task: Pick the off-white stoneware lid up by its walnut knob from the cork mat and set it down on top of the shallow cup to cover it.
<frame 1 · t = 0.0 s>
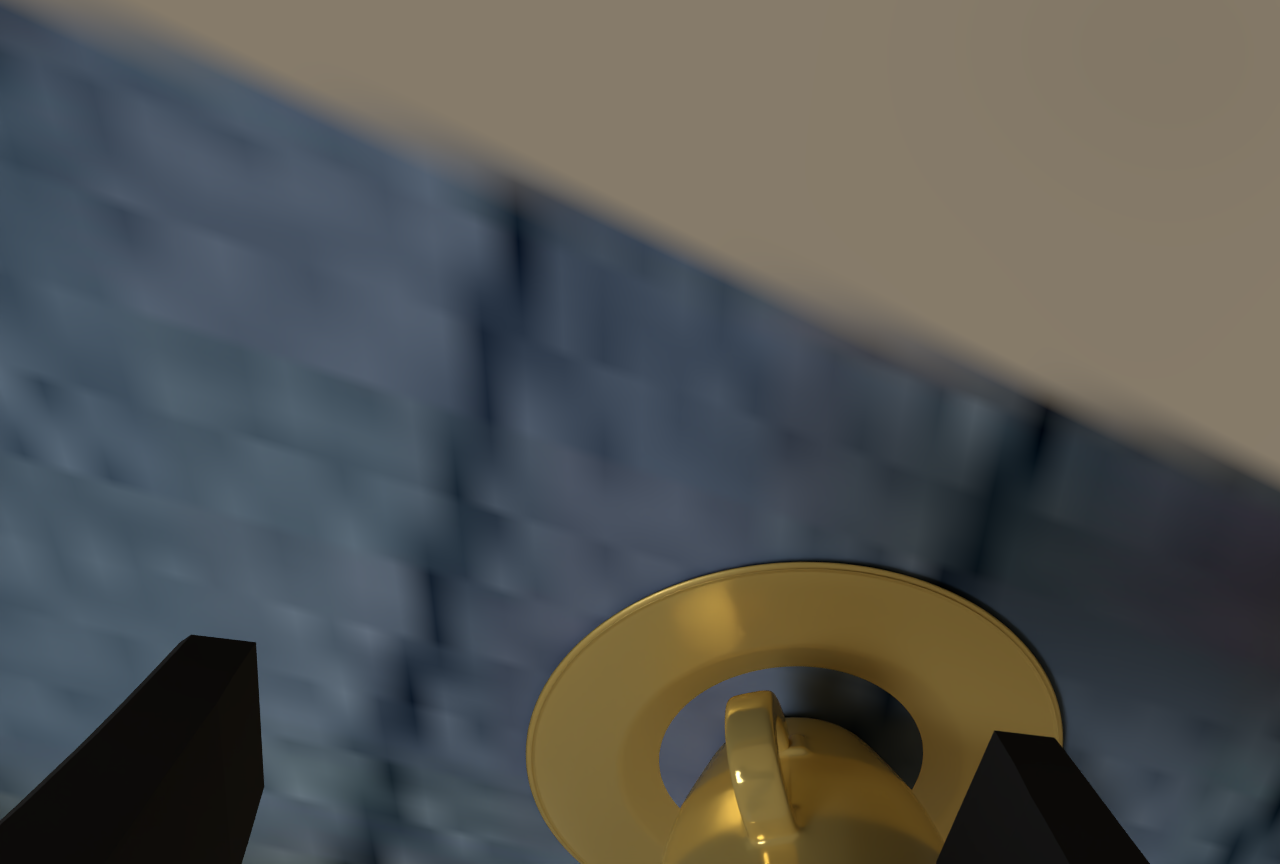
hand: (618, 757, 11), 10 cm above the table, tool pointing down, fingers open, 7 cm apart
cup: (788, 747, 26), on the table
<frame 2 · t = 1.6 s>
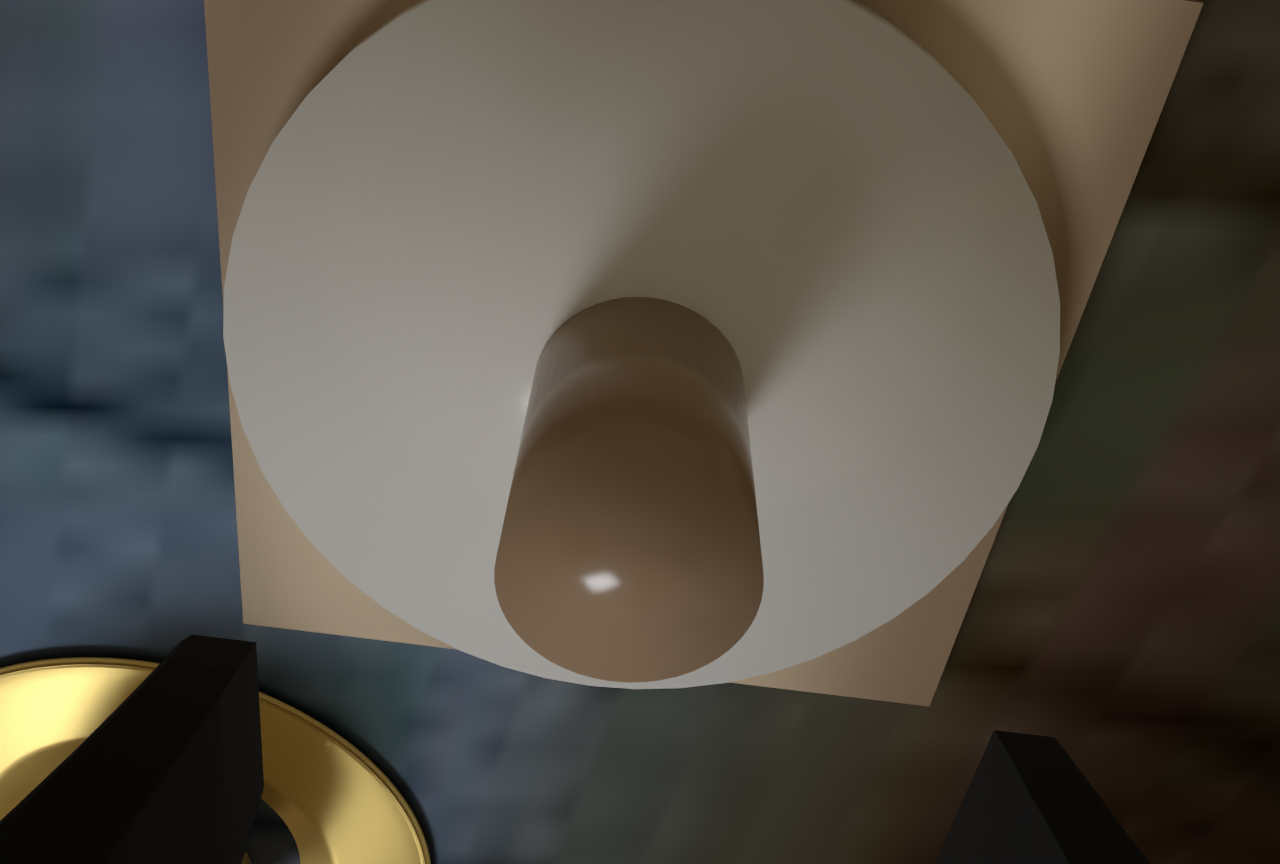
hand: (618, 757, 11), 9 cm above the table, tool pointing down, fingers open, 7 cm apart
lid: (639, 366, 18), point 1 cm above the table, touching mat
mat: (640, 349, 19), on the table
cup: (174, 831, 26), on the table
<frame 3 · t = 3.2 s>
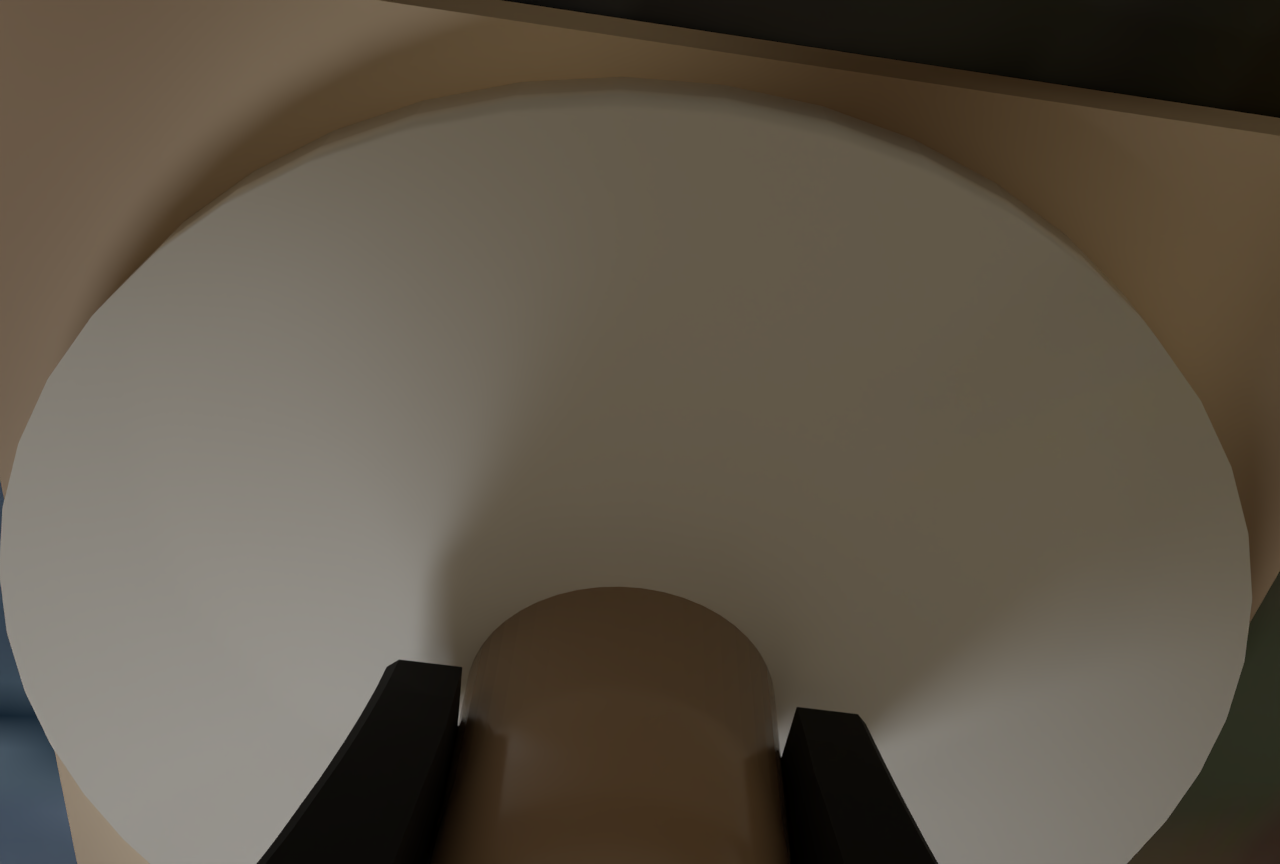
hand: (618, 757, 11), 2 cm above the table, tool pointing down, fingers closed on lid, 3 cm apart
lid: (623, 650, 13), point 1 cm above the table, touching gripper, mat
mat: (625, 614, 13), on the table
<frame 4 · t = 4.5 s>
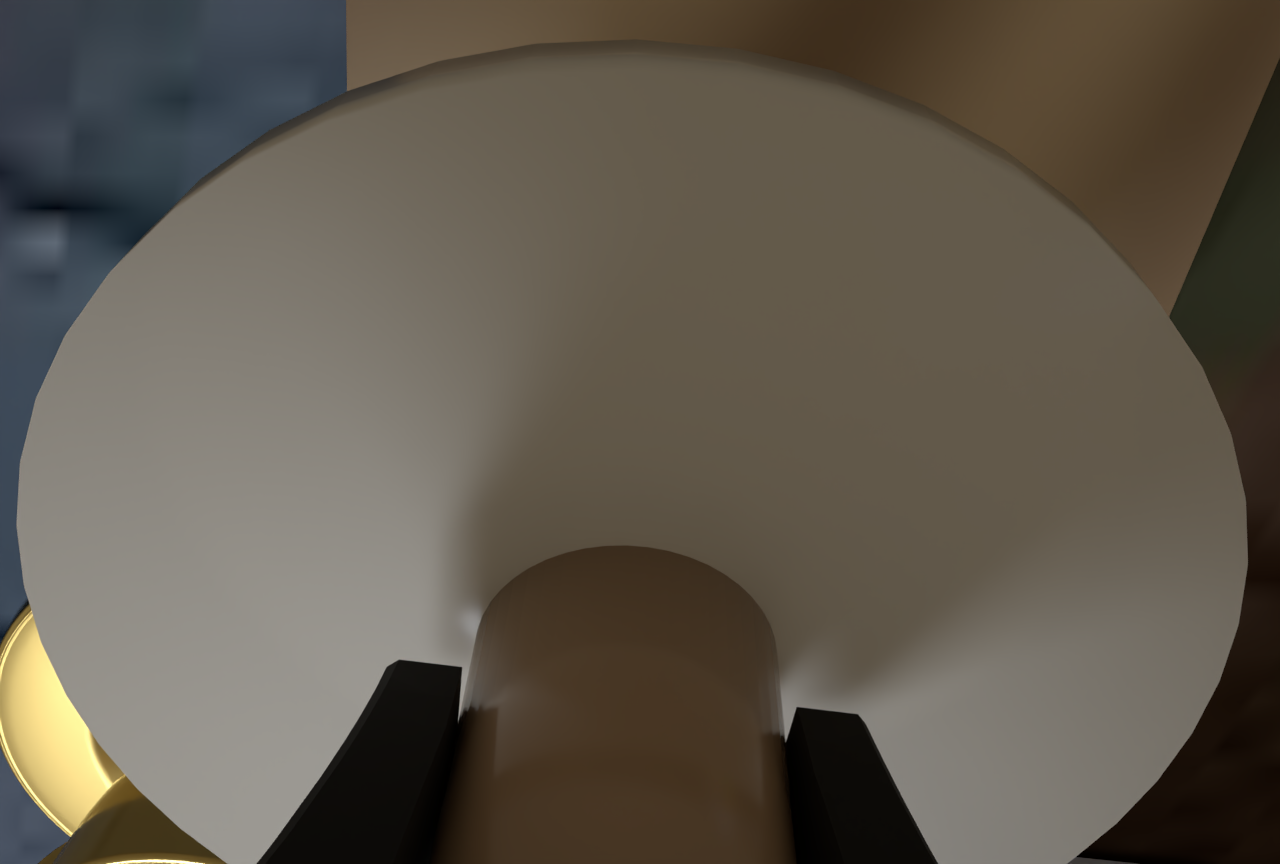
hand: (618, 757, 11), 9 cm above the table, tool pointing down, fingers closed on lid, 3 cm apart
lid: (628, 609, 13), point 7 cm above the table, touching gripper
mat: (780, 166, 18), on the table
cup: (282, 735, 26), on the table
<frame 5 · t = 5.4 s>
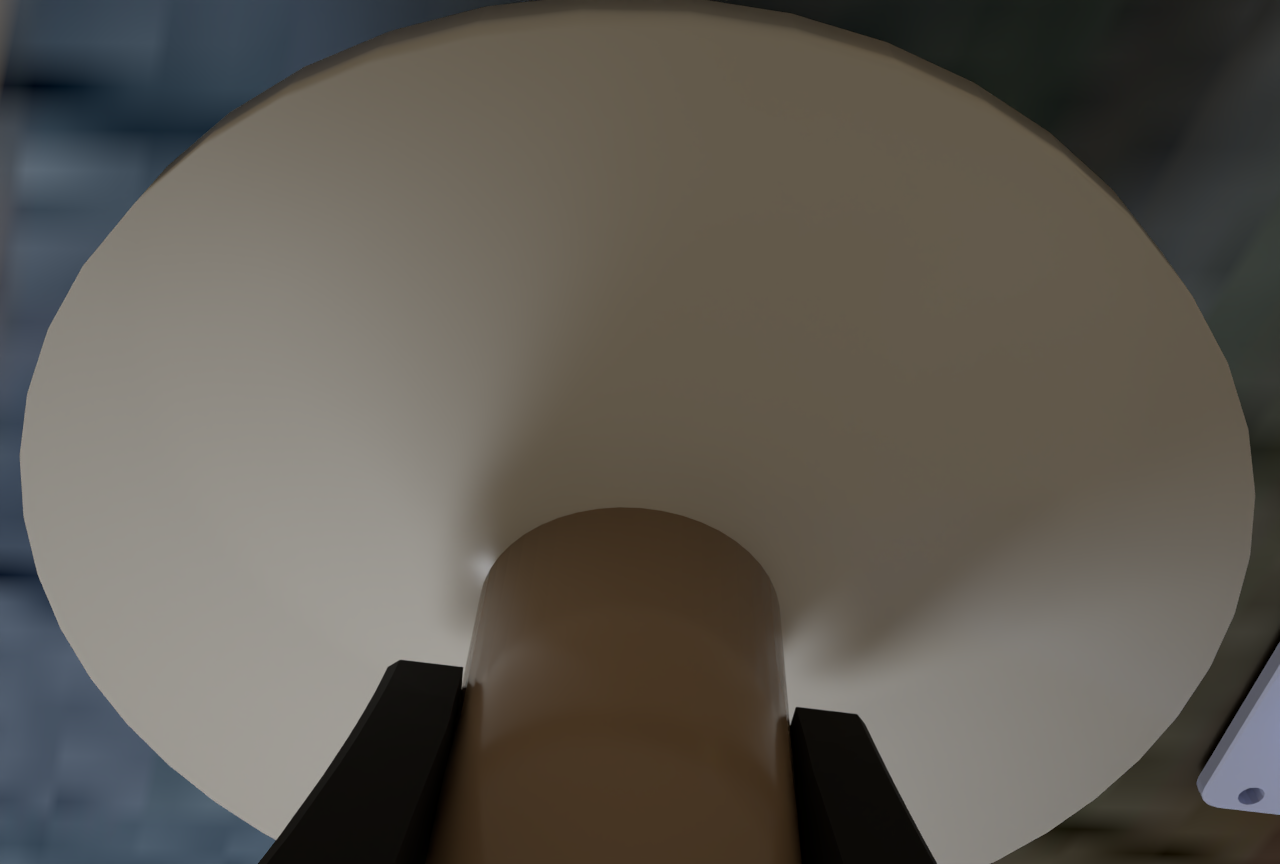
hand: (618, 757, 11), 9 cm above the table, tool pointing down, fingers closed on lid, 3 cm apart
lid: (632, 569, 13), point 7 cm above the table, touching gripper
when the fingers open (8 cm above the table, at t = 5.9 s): lid moves 1 cm, resting on cup.
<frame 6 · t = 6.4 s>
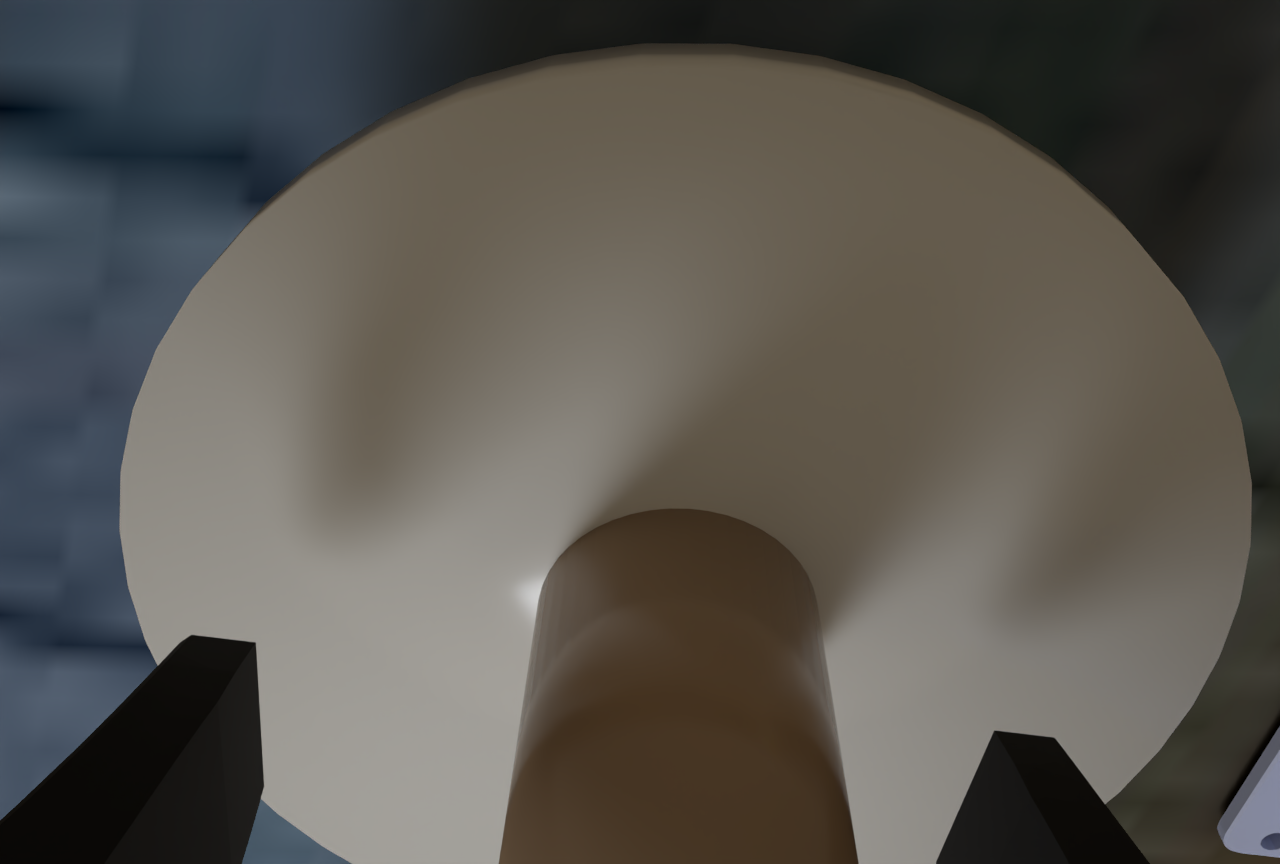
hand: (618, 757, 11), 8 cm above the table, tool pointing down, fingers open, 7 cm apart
lid: (676, 576, 14), point 5 cm above the table, touching cup
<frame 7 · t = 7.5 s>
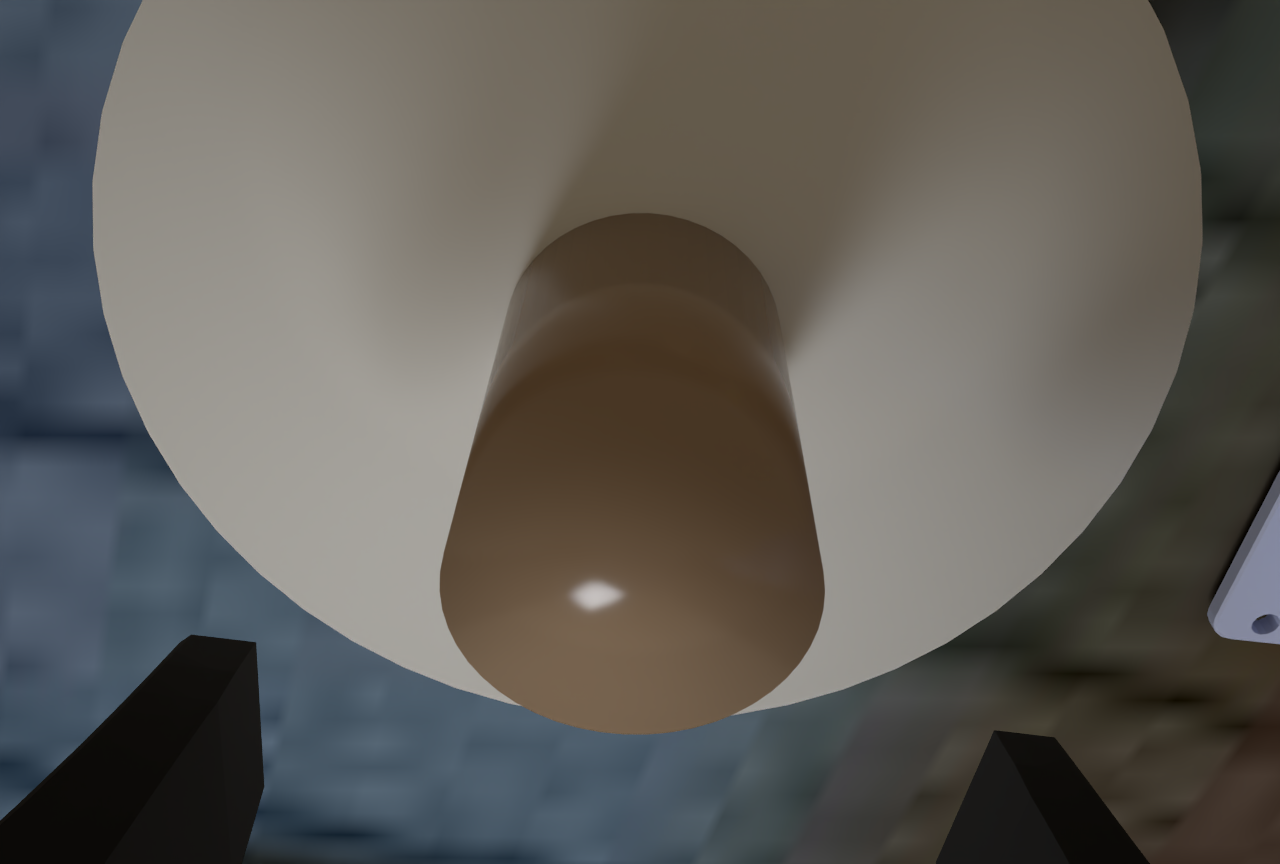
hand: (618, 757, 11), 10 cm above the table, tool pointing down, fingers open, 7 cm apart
lid: (643, 311, 14), point 5 cm above the table, touching cup
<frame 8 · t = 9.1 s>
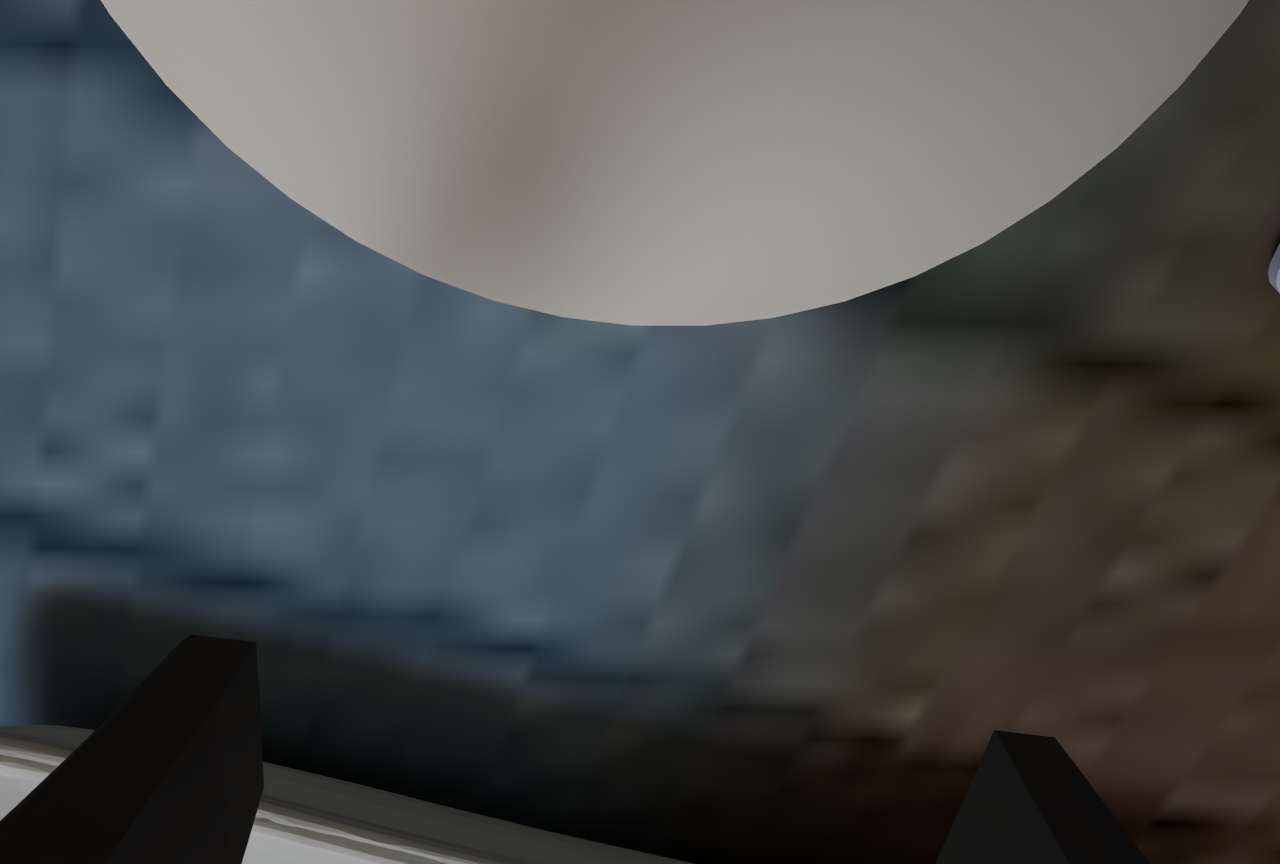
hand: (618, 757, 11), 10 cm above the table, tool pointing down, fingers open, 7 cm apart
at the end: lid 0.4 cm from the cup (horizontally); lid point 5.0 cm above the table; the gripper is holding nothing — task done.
